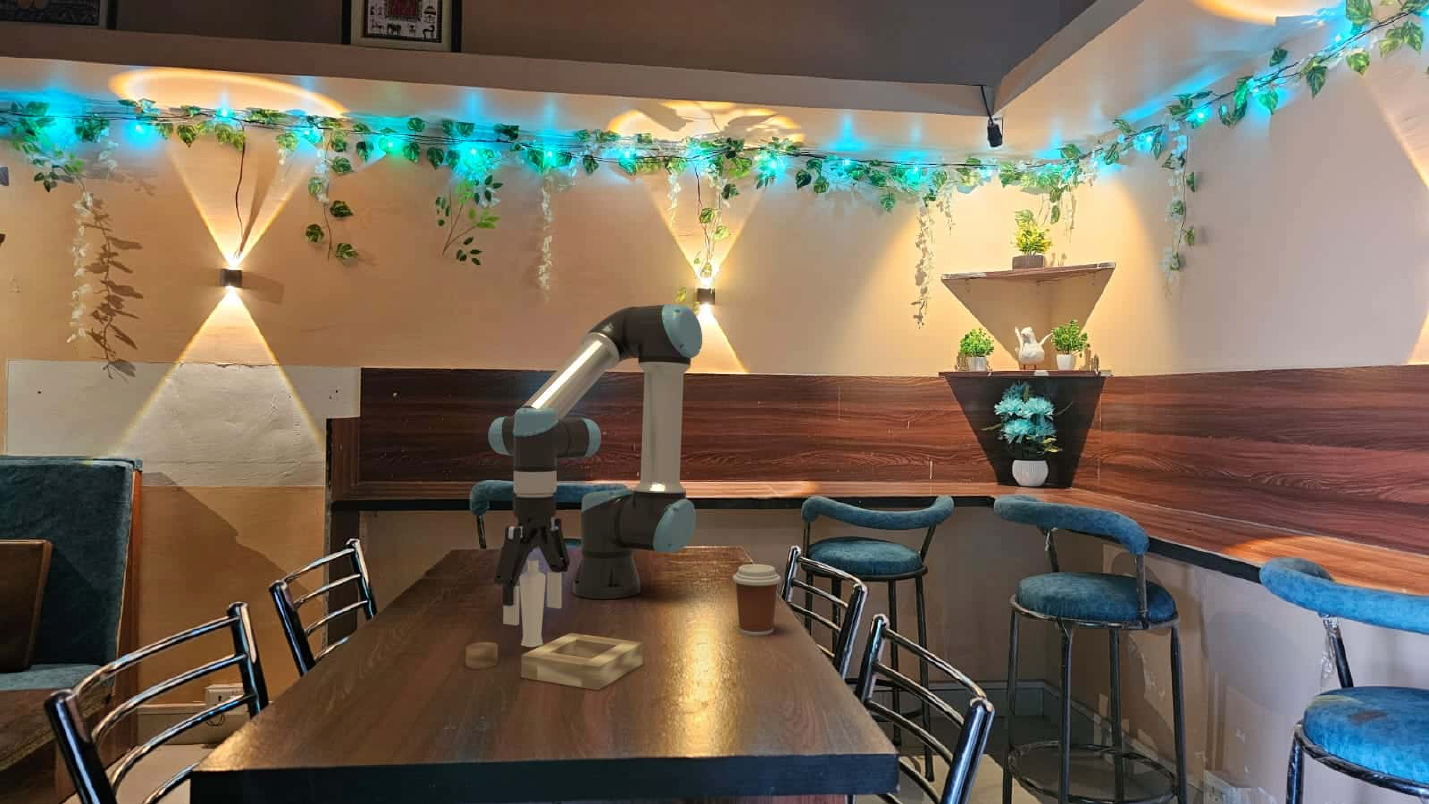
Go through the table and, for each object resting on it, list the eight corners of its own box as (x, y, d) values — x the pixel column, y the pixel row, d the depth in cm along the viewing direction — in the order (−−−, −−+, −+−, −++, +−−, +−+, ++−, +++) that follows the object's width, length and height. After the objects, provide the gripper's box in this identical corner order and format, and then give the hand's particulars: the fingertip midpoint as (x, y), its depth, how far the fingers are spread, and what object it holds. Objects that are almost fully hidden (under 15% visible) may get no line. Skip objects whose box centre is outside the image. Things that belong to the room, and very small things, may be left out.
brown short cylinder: (479, 658, 142) (479, 640, 142) (503, 662, 140) (503, 644, 140) (459, 667, 137) (459, 648, 137) (484, 671, 135) (484, 652, 135)
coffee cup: (755, 640, 154) (756, 574, 154) (722, 629, 161) (722, 566, 161) (790, 631, 160) (790, 568, 160) (756, 622, 167) (757, 561, 167)
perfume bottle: (539, 648, 148) (540, 562, 148) (516, 646, 149) (517, 561, 148) (550, 641, 152) (550, 558, 152) (527, 639, 153) (527, 556, 153)
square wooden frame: (570, 653, 145) (570, 633, 145) (642, 663, 139) (642, 642, 139) (521, 677, 132) (521, 655, 132) (598, 690, 127) (598, 666, 127)
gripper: (555, 487, 163) (554, 598, 163) (472, 500, 141) (471, 629, 140) (589, 489, 160) (588, 602, 160) (509, 502, 138) (508, 634, 138)
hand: (533, 615), depth 150 cm, fingers open, 12 cm apart
